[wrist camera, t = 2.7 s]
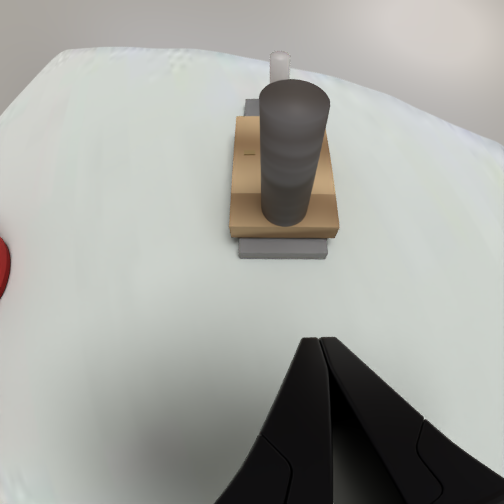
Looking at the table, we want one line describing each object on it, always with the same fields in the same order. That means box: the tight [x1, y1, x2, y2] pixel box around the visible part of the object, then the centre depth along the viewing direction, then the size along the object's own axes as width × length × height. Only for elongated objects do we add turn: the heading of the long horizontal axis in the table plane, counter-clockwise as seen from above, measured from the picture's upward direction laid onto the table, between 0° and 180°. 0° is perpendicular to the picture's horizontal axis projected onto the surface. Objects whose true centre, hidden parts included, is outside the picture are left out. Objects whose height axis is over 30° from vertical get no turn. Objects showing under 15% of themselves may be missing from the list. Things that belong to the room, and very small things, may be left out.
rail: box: [239, 51, 328, 259], centre depth 22 cm, size 16×6×7 cm, turn 179°
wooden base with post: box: [229, 79, 339, 238], centre depth 18 cm, size 10×7×11 cm
